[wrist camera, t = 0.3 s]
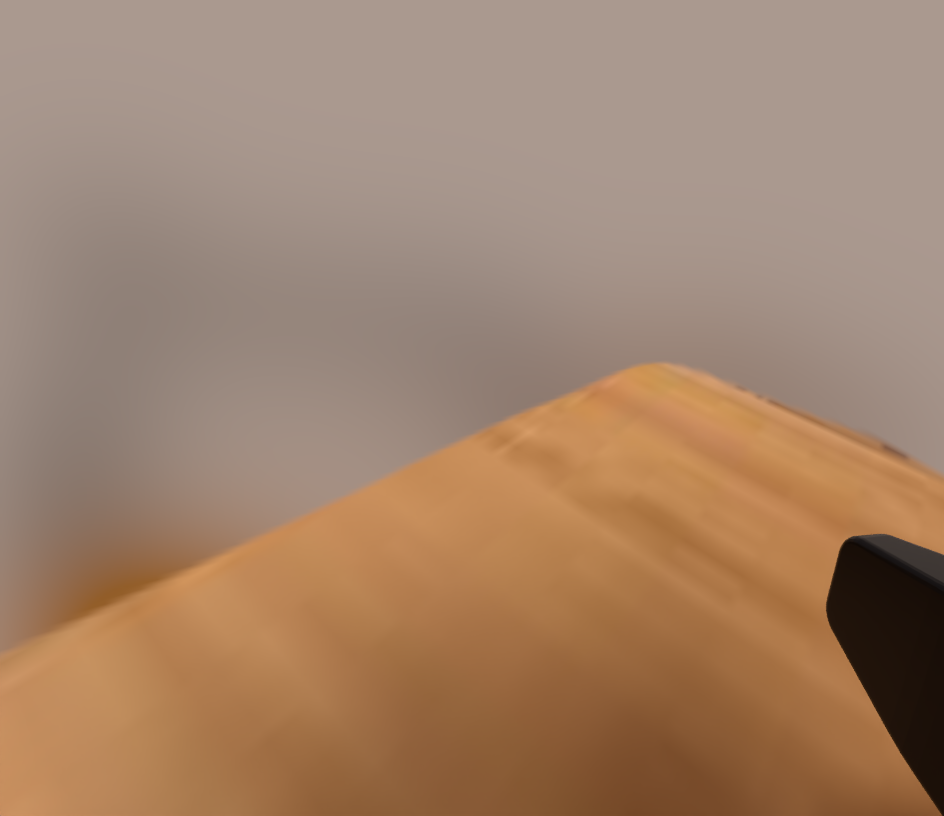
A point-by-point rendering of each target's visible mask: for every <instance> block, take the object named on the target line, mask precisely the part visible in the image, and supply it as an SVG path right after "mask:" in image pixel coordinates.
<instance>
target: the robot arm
mask: <svg viewBox="0 0 944 816" xmlns="http://www.w3.org/2000/svg"><path fill="white" fill-rule="evenodd" d="M826 612H827V618H828V621H829V624H830V627H831V629H832V631H833V633H834V634H835V636H836V638H837V640H838V642H839V643H840V645H841V647H842V649H843V651H844V653H845V654H846V656H847V658H848V660H849V662H850V663H851V665H852V667H853V669H854V671H855V672H856V674H857V676H858V678H859V680H860V682H861V683H862V685H863V687H864V689H865V691H866V692H867V694H868V696H869V698H870V700H871V701H872V703H873V705H874V707H875V709H876V711H877V712H878V714H879V716H880V718H881V720H882V721H883V723H884V725H885V727H886V729H887V730H888V732H889V734H890V736H891V737H892V739H893V741H894V743H895V744H896V746H897V748H898V749H899V751H900V753H901V754H902V756H903V758H904V759H905V761H906V762H907V764H908V765H909V767H910V768H911V770H912V771H913V773H914V775H915V776H916V778H917V779H918V780H919V782H920V783H921V785H922V786H923V788H924V789H925V791H926V792H927V794H928V795H929V797H930V798H931V800H932V801H933V803H934V804H935V806H936V807H937V808H938V810H939V811H940V813H941V814H942V816H944V555H943V554H940V553H937V552H934V551H932V550H929V549H926V548H923V547H921V546H918V545H915V544H913V543H910V542H907V541H904V540H902V539H899V538H896V537H893V536H891V535H887V534H873V535H862V536H853V537H850V538H848V539H847V540H845V542H844V543H843V544H842V546H841V548H840V551H839V554H838V558H837V562H836V566H835V570H834V574H833V578H832V582H831V586H830V589H829V593H828V597H827V602H826Z"/></svg>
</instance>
